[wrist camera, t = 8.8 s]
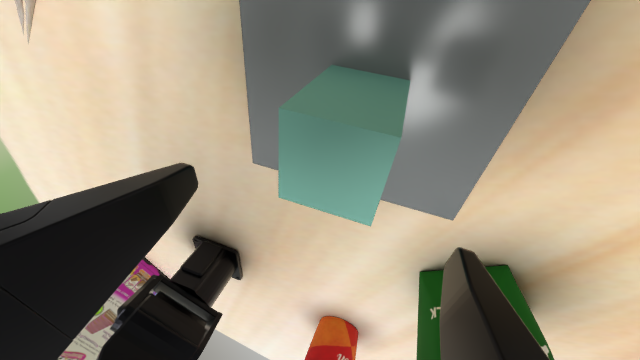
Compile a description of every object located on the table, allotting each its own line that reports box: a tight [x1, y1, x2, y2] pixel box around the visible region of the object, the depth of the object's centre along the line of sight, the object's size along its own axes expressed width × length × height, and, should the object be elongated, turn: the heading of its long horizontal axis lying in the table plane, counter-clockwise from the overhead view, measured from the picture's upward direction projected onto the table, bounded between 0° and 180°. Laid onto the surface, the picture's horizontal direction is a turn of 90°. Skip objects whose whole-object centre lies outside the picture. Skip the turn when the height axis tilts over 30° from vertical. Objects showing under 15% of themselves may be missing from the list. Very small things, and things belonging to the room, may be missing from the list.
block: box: [279, 65, 410, 226], centre depth 13 cm, size 4×4×7 cm
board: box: [239, 0, 591, 220], centre depth 16 cm, size 13×16×1 cm
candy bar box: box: [57, 258, 168, 360], centre depth 40 cm, size 11×5×16 cm, turn 32°
